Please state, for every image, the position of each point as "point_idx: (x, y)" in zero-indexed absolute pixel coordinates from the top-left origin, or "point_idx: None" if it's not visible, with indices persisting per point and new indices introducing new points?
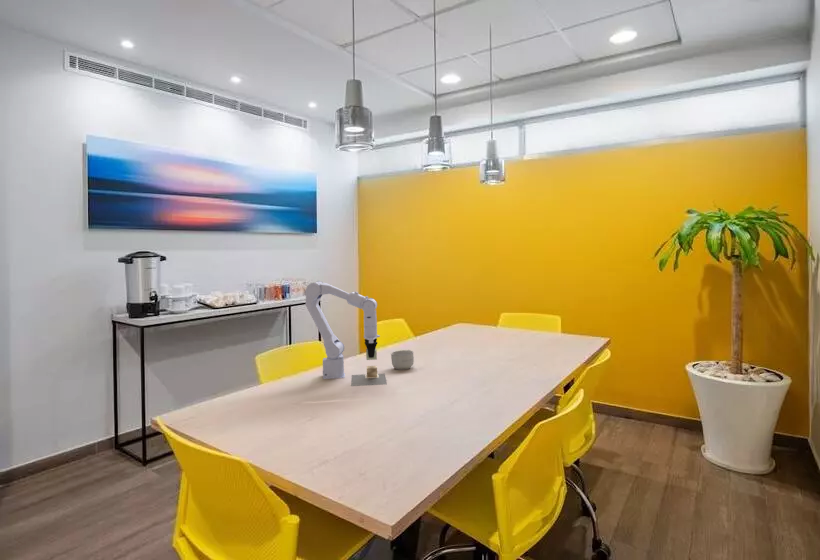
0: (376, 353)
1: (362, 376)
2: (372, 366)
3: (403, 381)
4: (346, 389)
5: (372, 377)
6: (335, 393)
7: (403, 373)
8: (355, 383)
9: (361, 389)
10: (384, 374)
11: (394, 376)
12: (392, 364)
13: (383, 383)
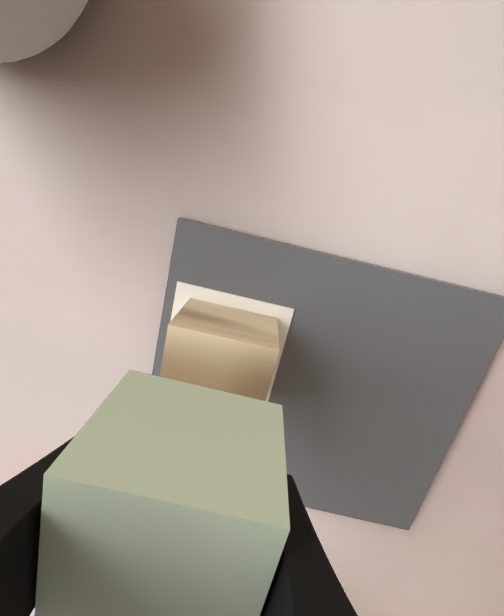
0: (284, 476)
1: None
2: (189, 373)
3: (489, 114)
4: (434, 552)
5: None
6: (475, 611)
7: (210, 9)
8: (364, 495)
9: (492, 481)
10: (214, 232)
11: (281, 147)
12: None
13: (483, 321)
